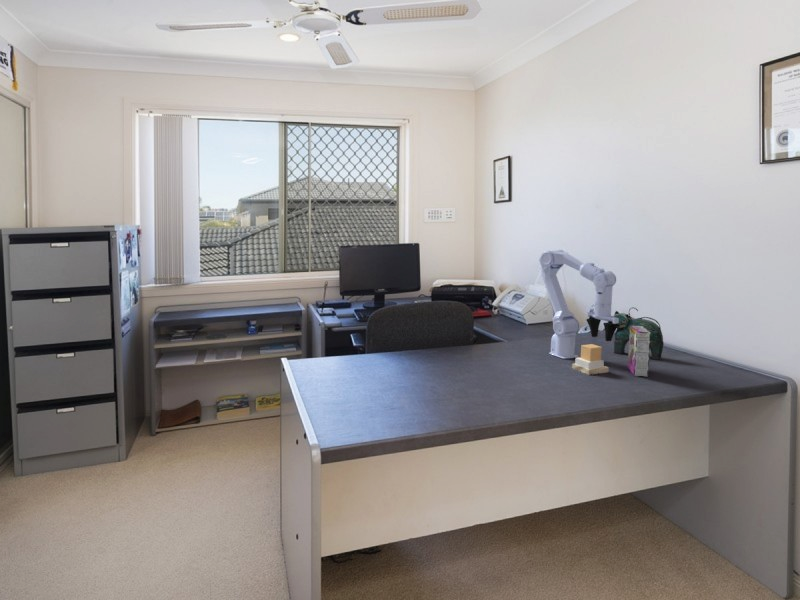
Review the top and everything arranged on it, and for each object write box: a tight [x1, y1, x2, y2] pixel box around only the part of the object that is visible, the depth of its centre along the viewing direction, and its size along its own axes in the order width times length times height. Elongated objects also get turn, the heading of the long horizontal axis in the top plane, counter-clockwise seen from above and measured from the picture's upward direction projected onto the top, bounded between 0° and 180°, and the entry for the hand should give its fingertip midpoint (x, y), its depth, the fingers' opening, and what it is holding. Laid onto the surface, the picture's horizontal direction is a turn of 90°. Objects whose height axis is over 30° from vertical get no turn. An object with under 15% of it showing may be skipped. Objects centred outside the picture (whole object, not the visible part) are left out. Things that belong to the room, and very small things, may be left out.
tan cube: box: [580, 343, 602, 362], centre depth 193 cm, size 5×5×5 cm
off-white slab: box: [574, 356, 605, 369], centre depth 194 cm, size 7×7×2 cm
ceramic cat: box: [613, 306, 665, 360], centre depth 214 cm, size 20×6×20 cm, turn 49°
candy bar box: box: [627, 326, 651, 378], centre depth 190 cm, size 11×5×16 cm, turn 168°
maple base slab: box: [571, 363, 609, 376], centre depth 194 cm, size 9×9×2 cm
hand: (601, 338), depth 200 cm, fingers open, 7 cm apart
